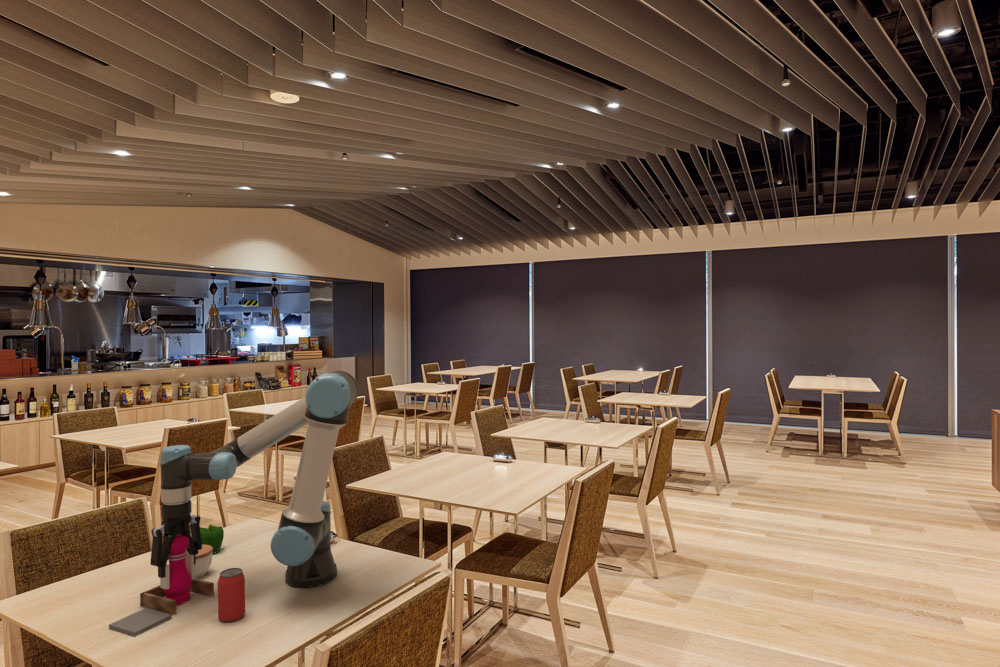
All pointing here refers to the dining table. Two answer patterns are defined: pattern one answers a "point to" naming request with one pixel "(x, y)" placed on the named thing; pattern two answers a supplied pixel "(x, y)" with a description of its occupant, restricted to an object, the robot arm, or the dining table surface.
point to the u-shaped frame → (160, 603)
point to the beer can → (231, 595)
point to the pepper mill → (179, 571)
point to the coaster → (140, 621)
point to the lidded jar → (203, 560)
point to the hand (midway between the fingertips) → (177, 582)
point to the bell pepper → (212, 537)
